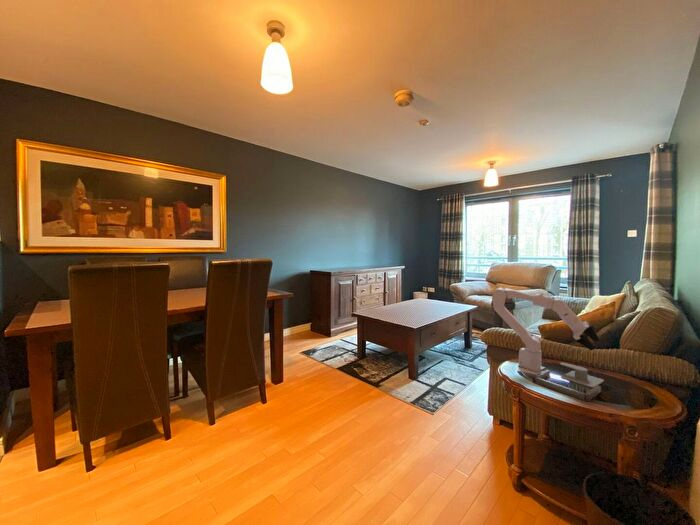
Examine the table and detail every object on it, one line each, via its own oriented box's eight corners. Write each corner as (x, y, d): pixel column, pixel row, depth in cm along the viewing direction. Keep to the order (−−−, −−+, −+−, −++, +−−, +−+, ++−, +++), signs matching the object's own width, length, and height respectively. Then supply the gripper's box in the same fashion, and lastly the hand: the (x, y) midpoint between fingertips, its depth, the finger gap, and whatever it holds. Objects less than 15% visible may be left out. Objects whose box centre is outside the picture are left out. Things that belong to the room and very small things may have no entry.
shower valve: (566, 359, 144) (605, 370, 131) (566, 370, 144) (604, 382, 132) (554, 365, 138) (593, 377, 125) (554, 376, 138) (593, 389, 125)
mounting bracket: (532, 382, 132) (532, 376, 132) (546, 374, 139) (546, 369, 139) (587, 401, 115) (587, 395, 115) (600, 392, 122) (600, 386, 122)
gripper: (575, 324, 131) (599, 350, 127) (585, 310, 139) (608, 334, 135) (561, 330, 136) (584, 355, 132) (571, 316, 144) (593, 339, 140)
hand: (595, 345), depth 134 cm, fingers open, 7 cm apart
